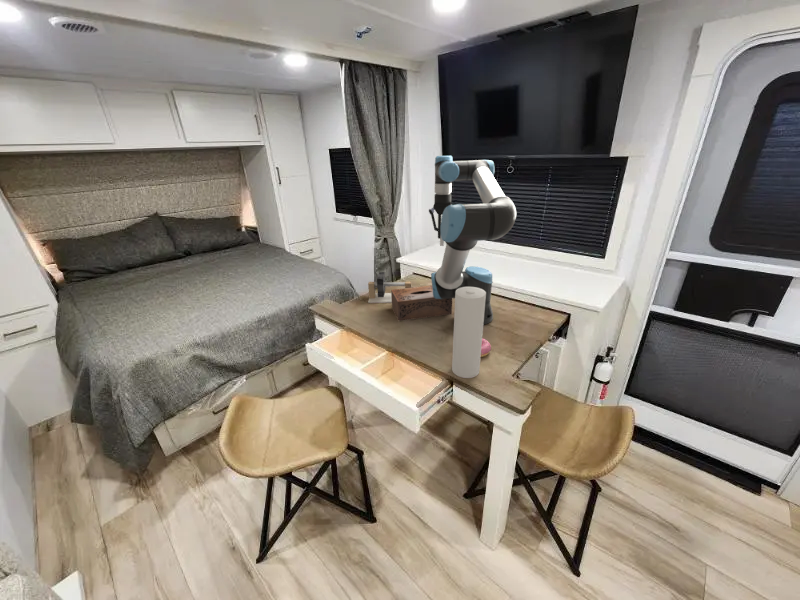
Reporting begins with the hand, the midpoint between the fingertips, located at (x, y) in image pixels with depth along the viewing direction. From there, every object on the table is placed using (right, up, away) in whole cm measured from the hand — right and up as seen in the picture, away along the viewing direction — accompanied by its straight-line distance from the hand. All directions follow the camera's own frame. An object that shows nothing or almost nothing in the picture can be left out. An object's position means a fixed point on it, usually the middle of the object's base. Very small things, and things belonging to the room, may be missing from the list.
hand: (441, 245), depth 156 cm
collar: (-29, -23, +16) cm, 40 cm away
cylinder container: (+3, -51, -41) cm, 65 cm away
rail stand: (-25, -25, +17) cm, 39 cm away
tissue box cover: (-10, -32, +3) cm, 33 cm away
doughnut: (+9, -46, -30) cm, 56 cm away
